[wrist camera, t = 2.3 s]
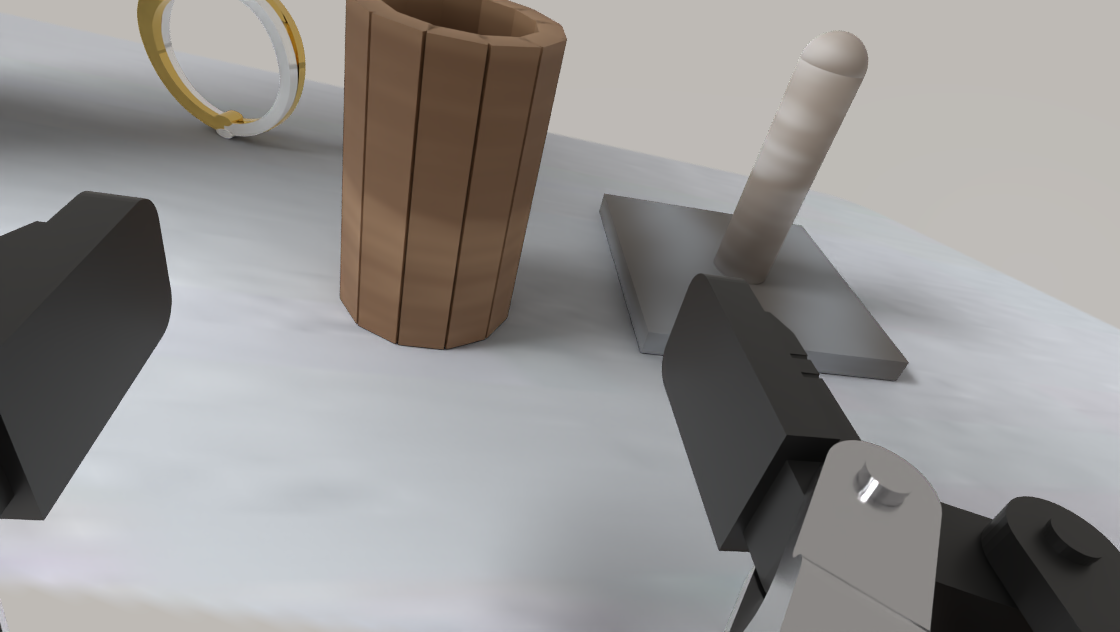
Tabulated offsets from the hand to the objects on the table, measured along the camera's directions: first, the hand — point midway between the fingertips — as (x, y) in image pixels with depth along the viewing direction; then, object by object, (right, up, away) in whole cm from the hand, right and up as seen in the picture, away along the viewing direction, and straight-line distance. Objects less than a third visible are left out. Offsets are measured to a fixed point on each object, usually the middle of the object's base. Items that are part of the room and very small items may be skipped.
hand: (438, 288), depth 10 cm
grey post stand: (+10, +1, +19) cm, 22 cm away
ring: (-14, +8, +21) cm, 26 cm away
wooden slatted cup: (-3, 0, +14) cm, 14 cm away
